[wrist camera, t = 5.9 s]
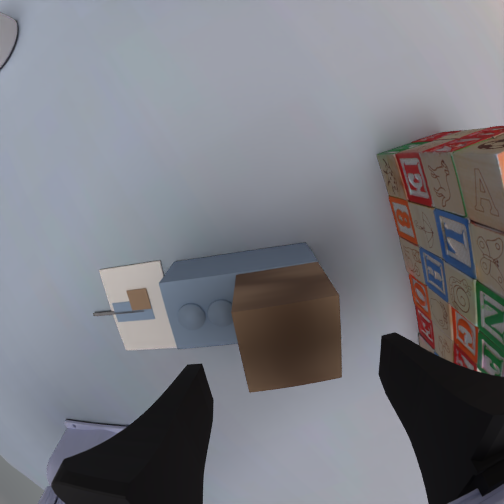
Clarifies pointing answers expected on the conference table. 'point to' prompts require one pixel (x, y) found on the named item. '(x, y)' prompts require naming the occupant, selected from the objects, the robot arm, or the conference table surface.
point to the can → (7, 37)
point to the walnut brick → (287, 326)
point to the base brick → (216, 291)
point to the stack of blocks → (453, 241)
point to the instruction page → (138, 305)
